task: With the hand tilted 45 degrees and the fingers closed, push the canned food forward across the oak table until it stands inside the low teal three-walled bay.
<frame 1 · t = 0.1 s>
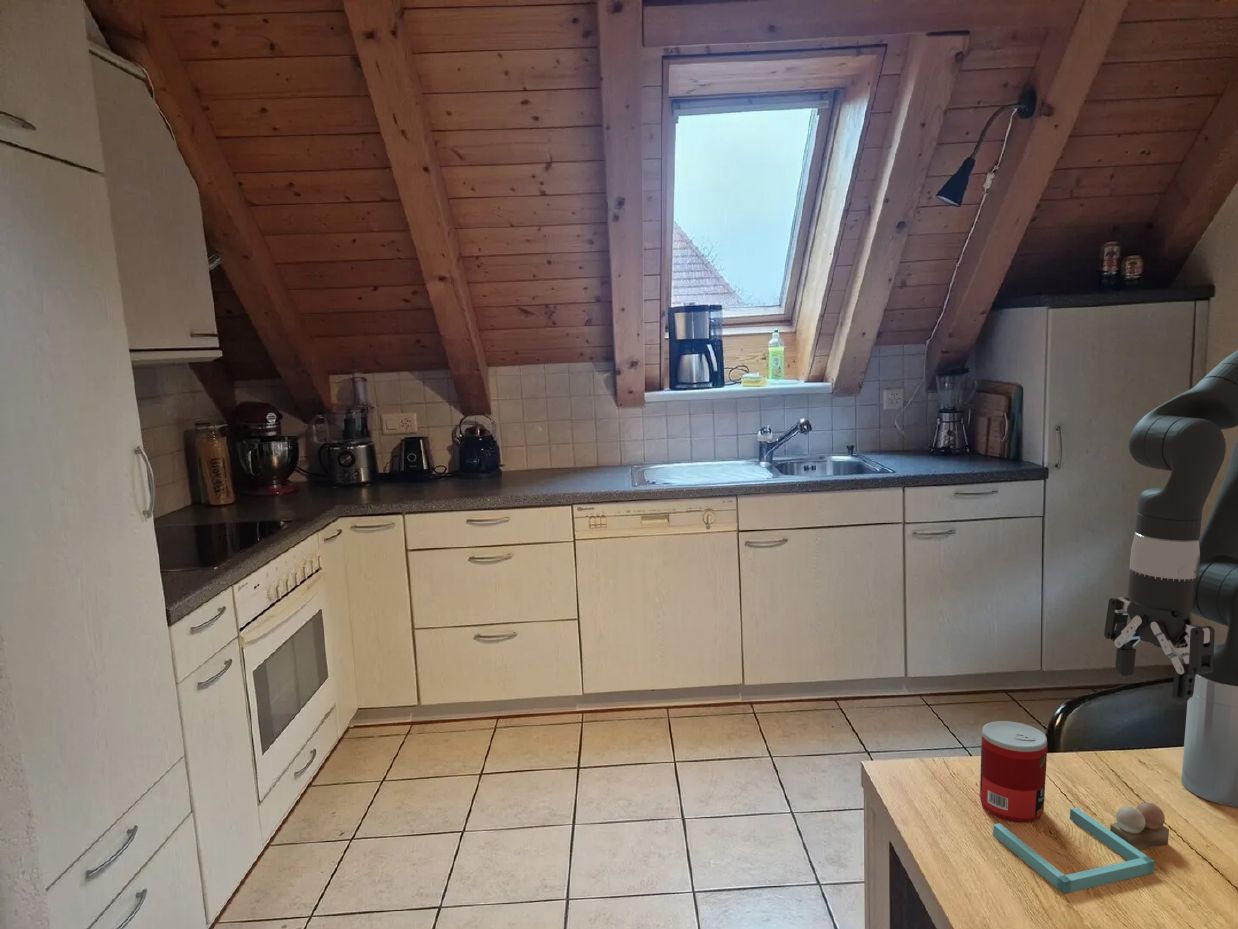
hand: (1151, 686, 110), 17 cm above the table, tool pointing down, fingers open, 8 cm apart
egg holder with eggs: (1138, 841, 105), on the table
teal bay: (1067, 851, 104), on the table
canned food: (1011, 809, 113), on the table
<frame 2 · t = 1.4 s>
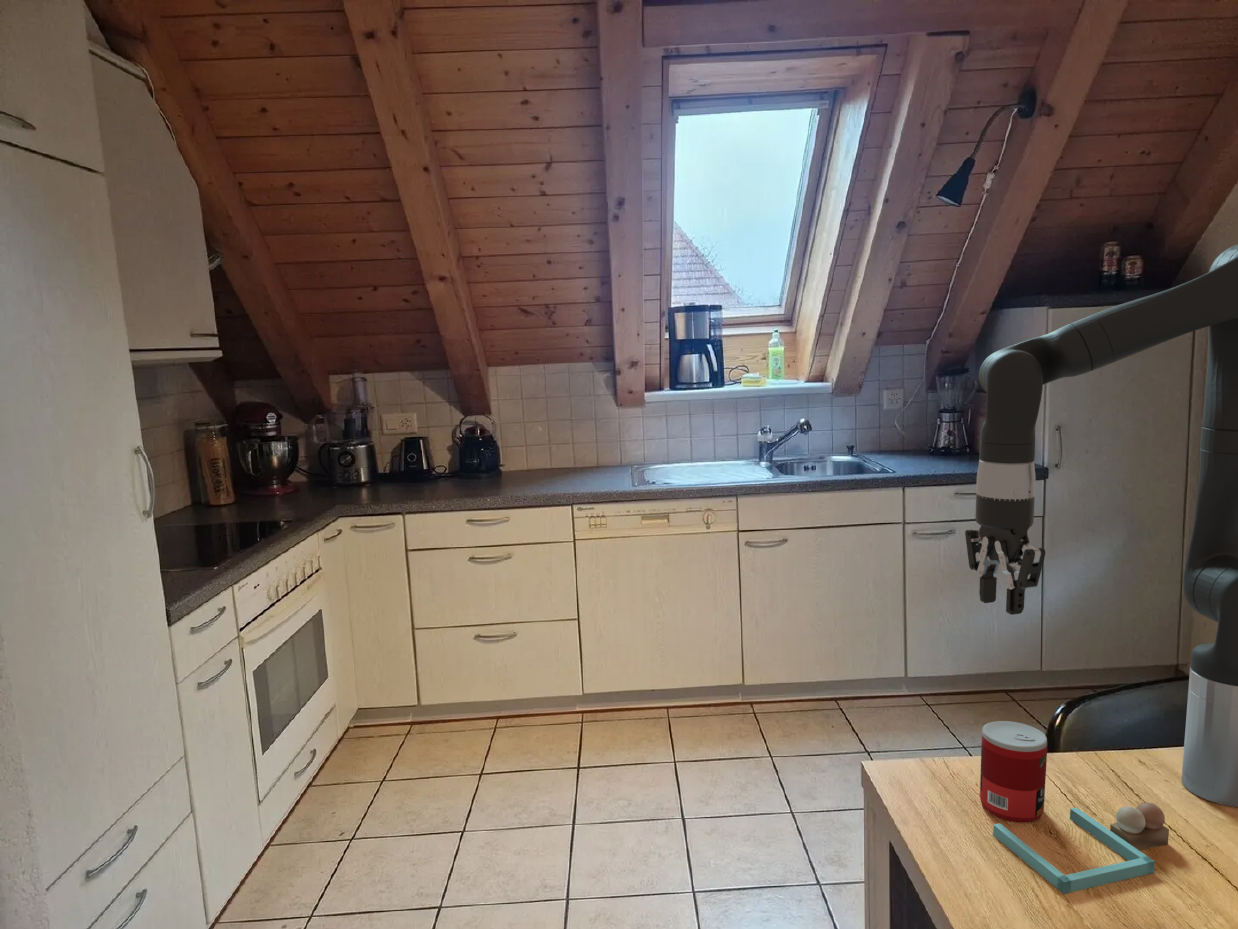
hand: (1000, 607, 119), 25 cm above the table, tool pointing down, fingers open, 5 cm apart
nothing on the table moved.
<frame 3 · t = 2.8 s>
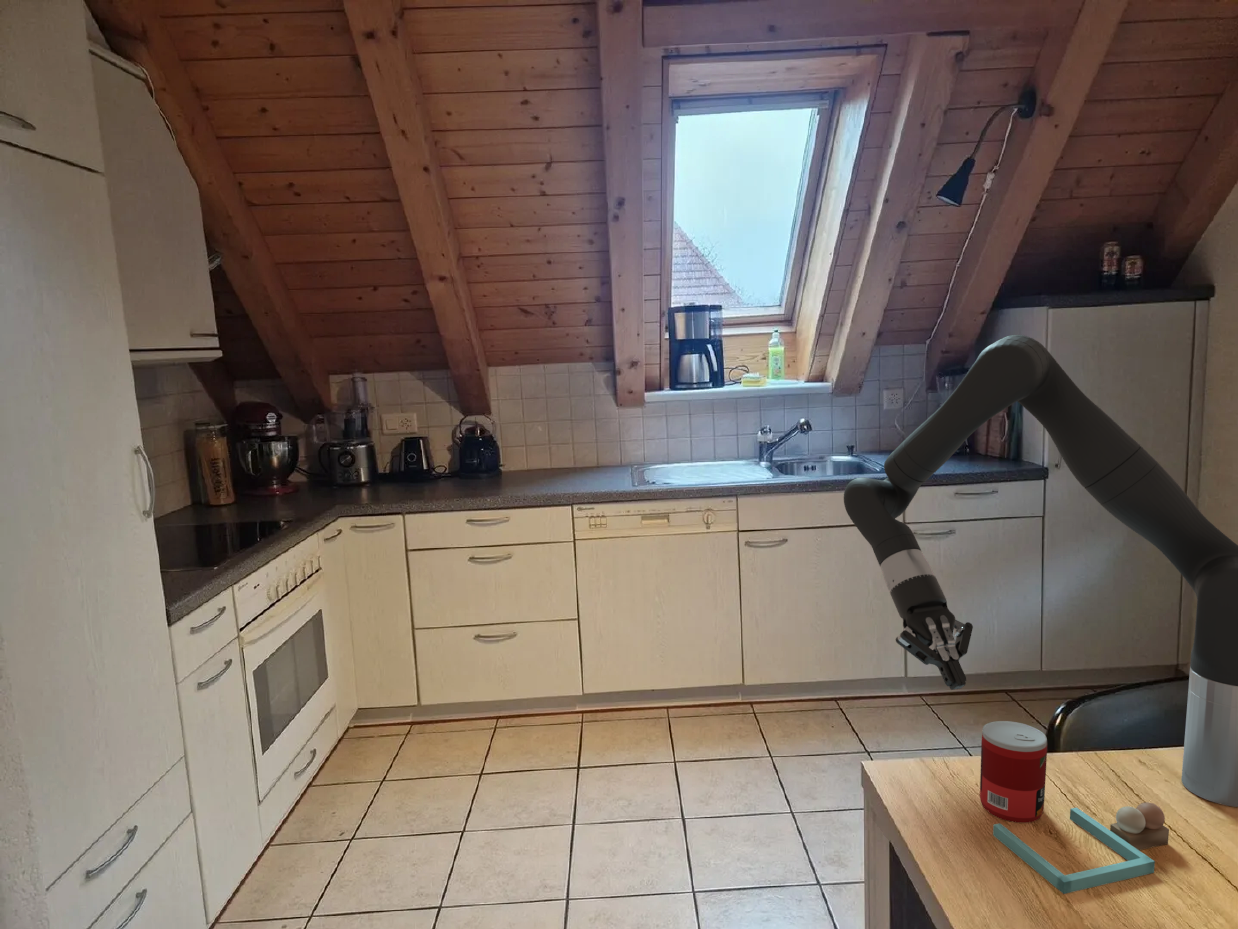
hand: (958, 687, 122), 13 cm above the table, tool tilted 45°, fingers closed
nothing on the table moved.
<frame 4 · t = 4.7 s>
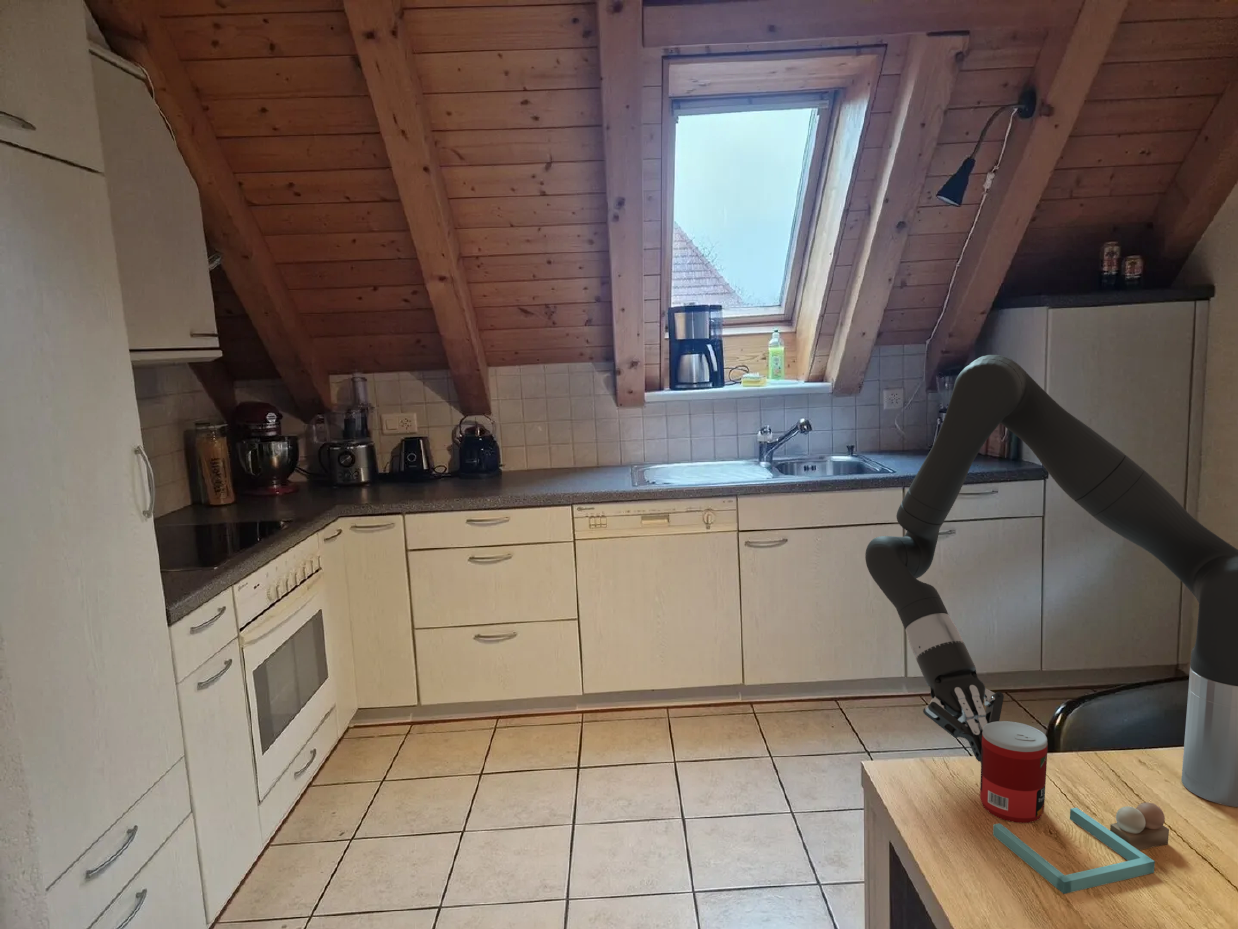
hand: (990, 763, 117), 4 cm above the table, tool tilted 45°, fingers closed
canned food: (1011, 809, 113), on the table, touching gripper
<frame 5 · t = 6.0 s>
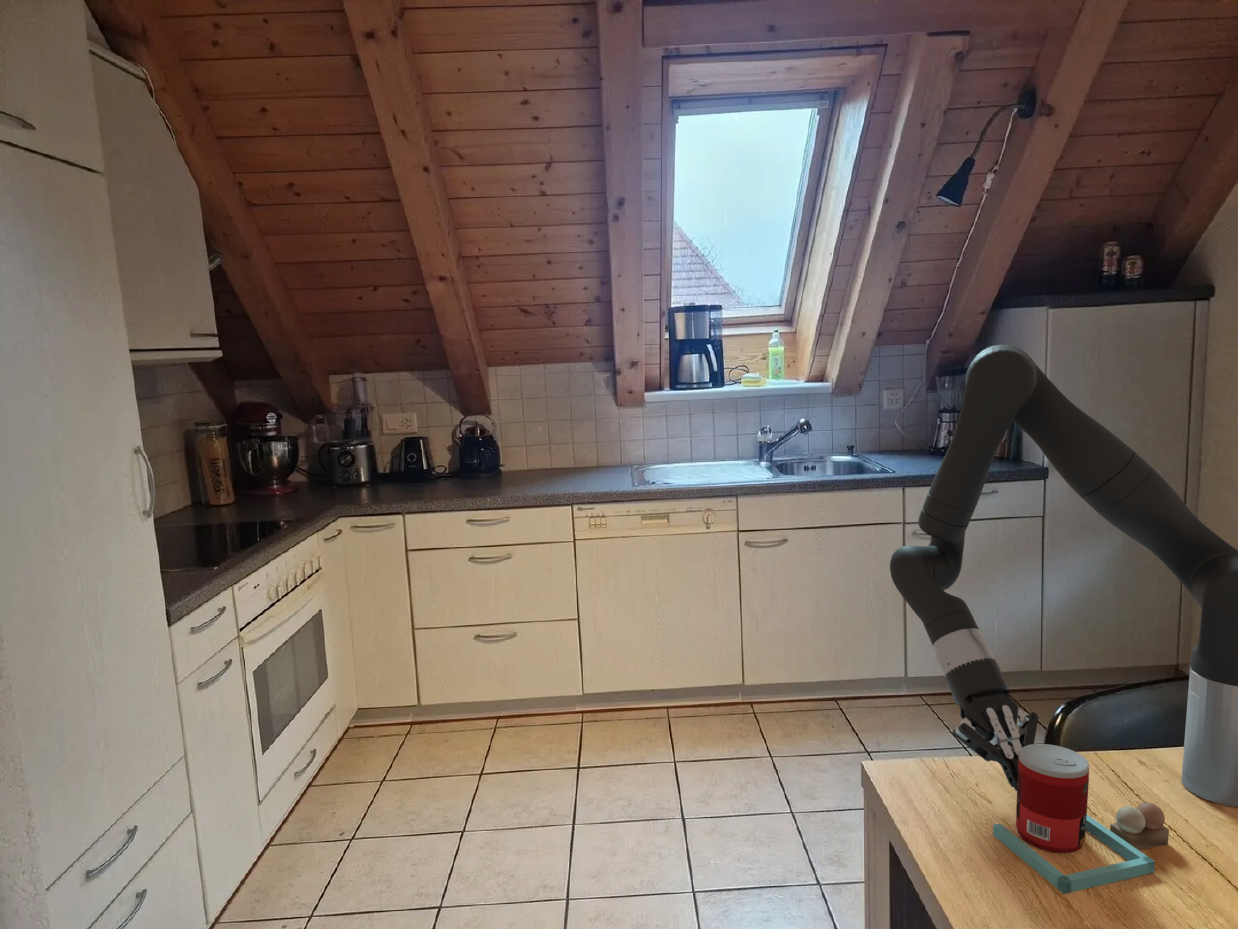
hand: (1025, 789, 110), 4 cm above the table, tool tilted 45°, fingers closed
canned food: (1049, 838, 107), on the table, touching gripper
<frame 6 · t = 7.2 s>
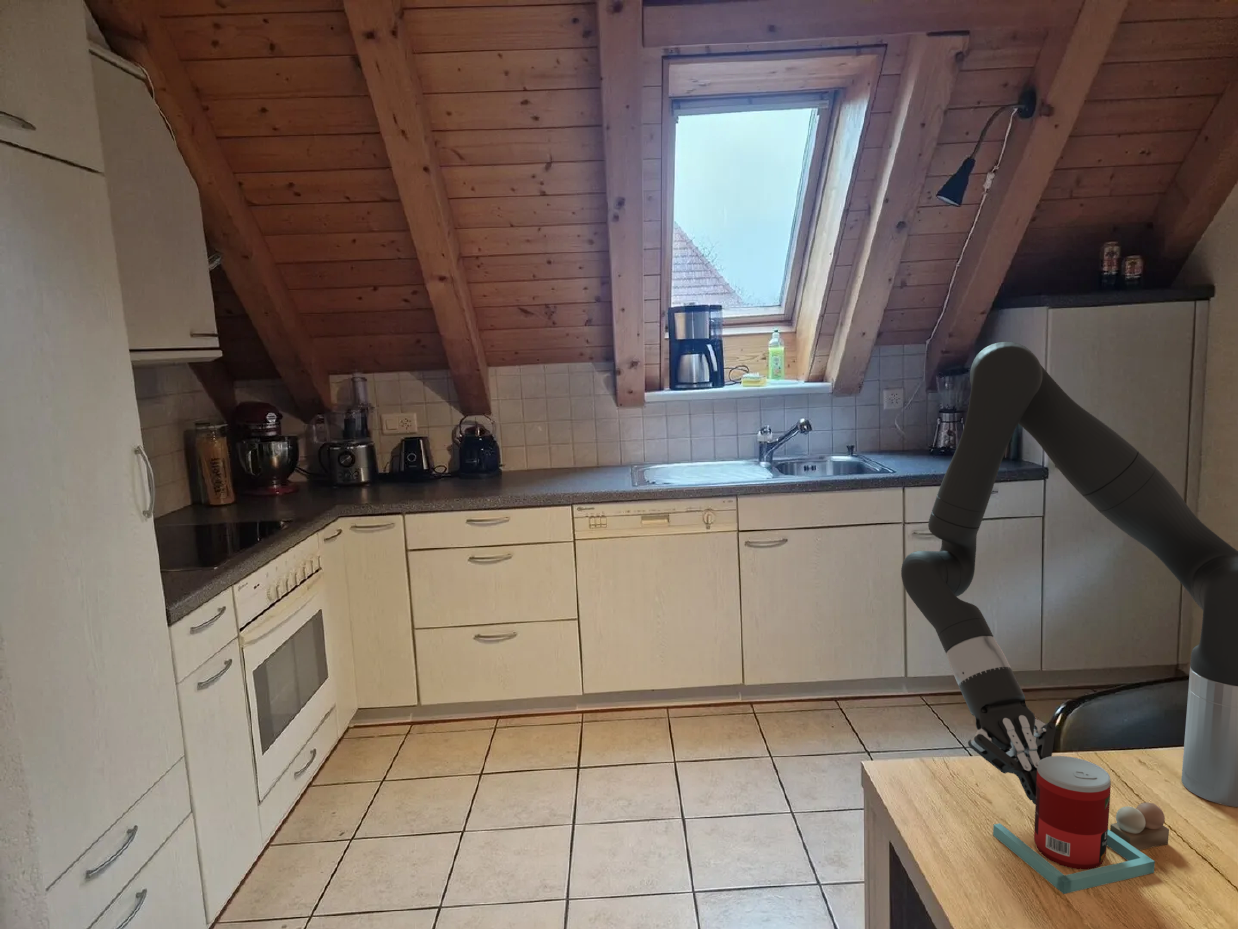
hand: (1043, 802, 107), 4 cm above the table, tool tilted 45°, fingers closed
canned food: (1069, 853, 104), on the table, touching gripper
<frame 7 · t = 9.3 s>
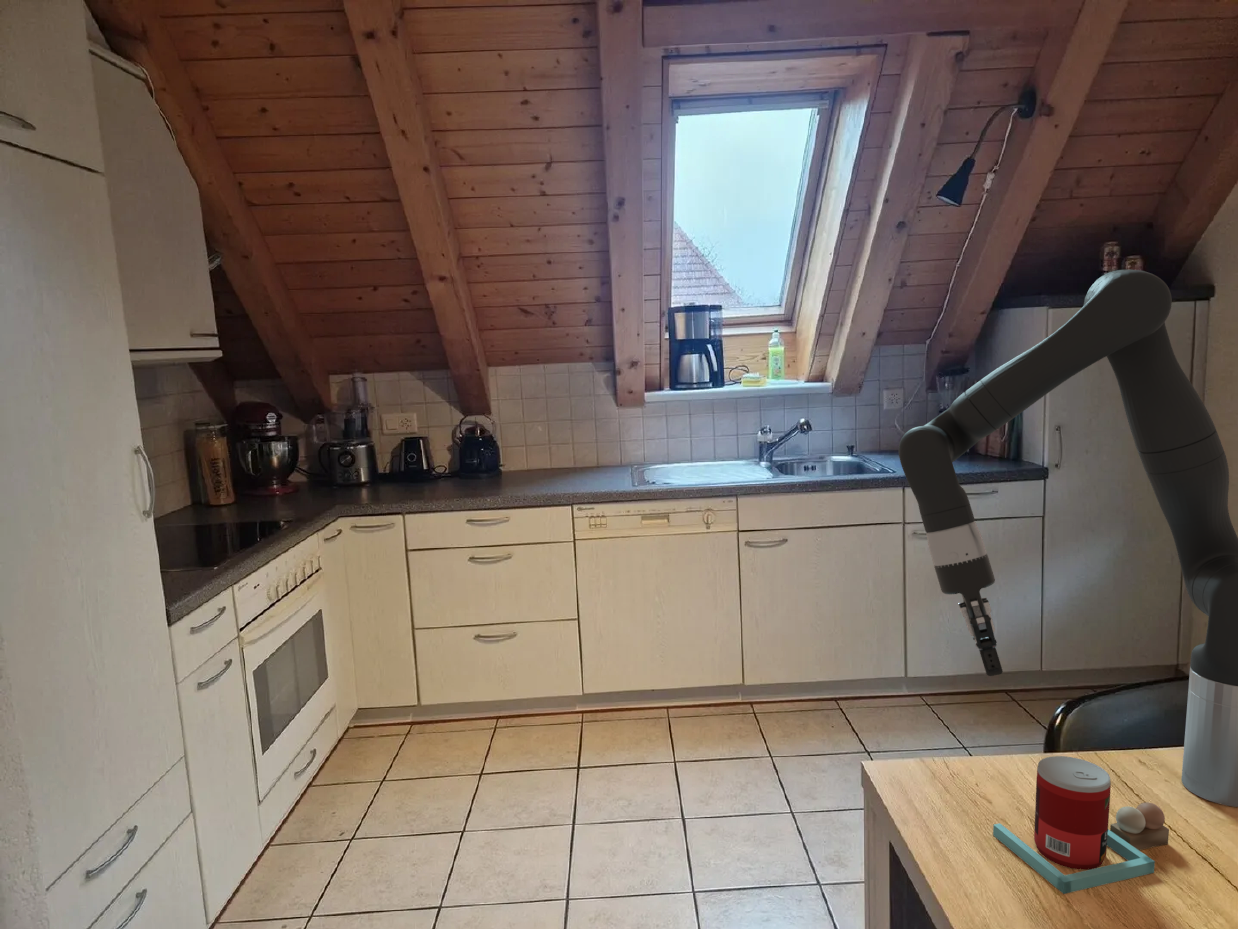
hand: (994, 673, 119), 16 cm above the table, tool tilted 20°, fingers closed
canned food: (1069, 853, 104), on the table
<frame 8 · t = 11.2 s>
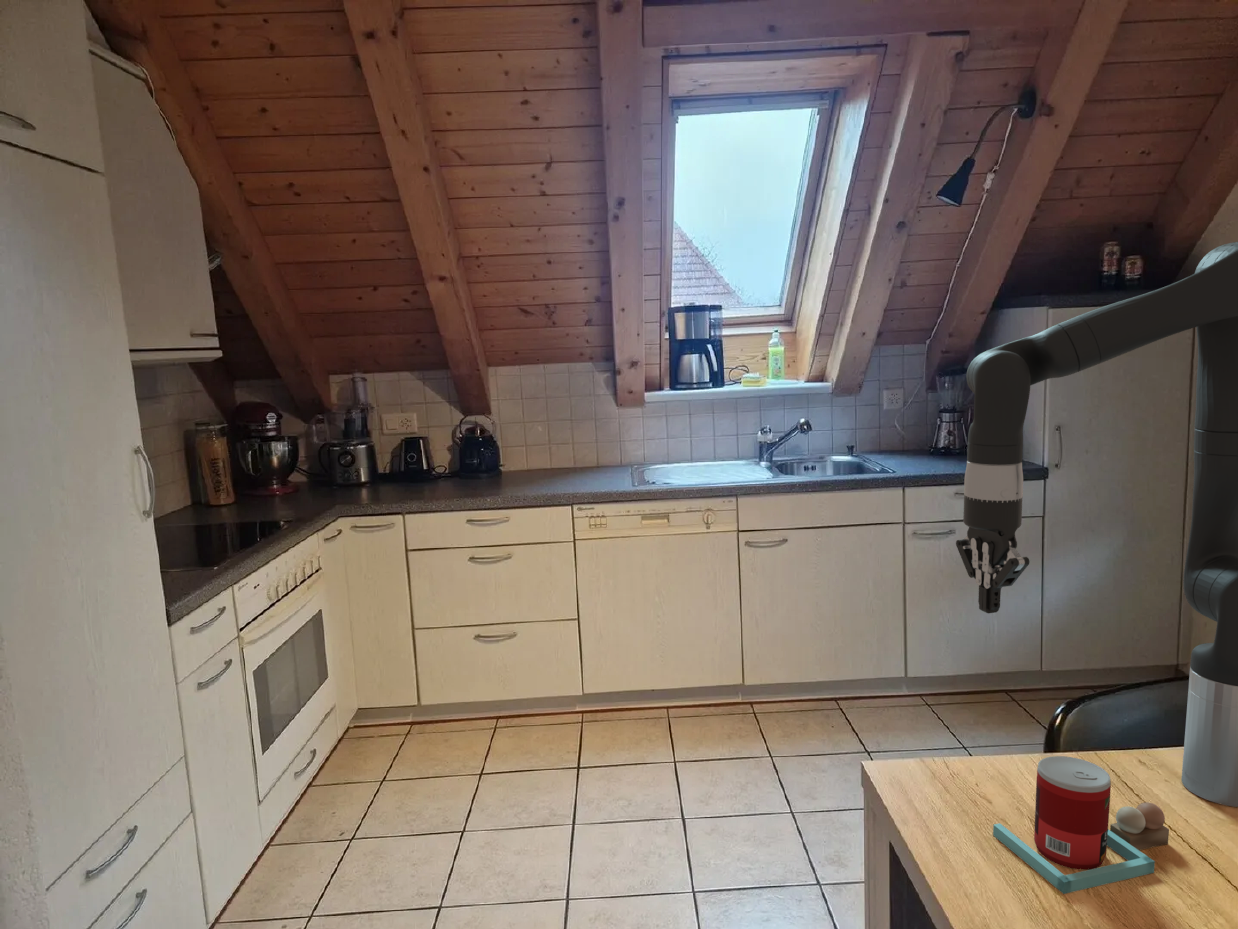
hand: (988, 611, 119), 25 cm above the table, tool pointing down, fingers closed
nothing on the table moved.
at the end: canned food inside the target area on the teal bay (0.3 cm from its centre), point 0.0 cm above the teal bay's base; canned food tilted 0° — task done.
